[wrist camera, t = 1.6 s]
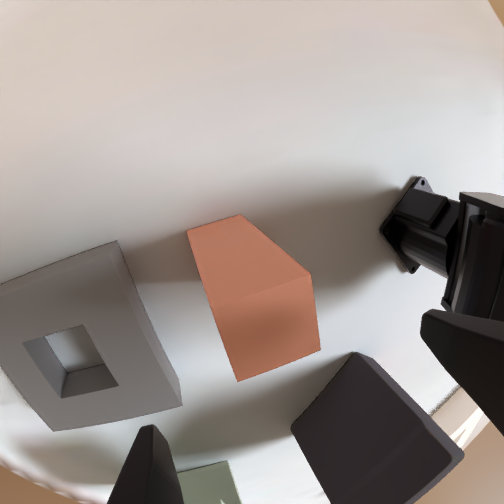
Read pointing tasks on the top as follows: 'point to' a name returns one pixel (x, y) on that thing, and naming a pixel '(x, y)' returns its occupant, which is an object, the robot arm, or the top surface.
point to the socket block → (100, 332)
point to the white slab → (458, 416)
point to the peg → (255, 296)
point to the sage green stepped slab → (209, 485)
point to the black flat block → (372, 439)
